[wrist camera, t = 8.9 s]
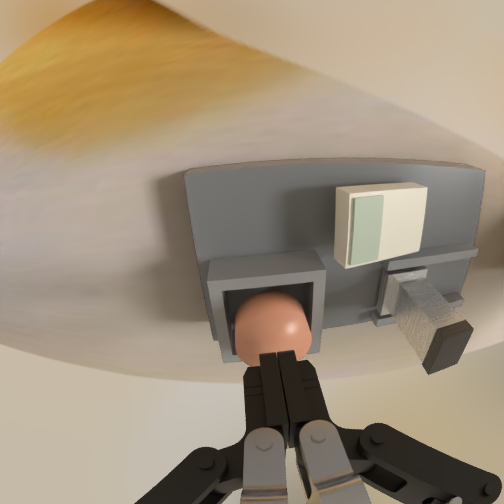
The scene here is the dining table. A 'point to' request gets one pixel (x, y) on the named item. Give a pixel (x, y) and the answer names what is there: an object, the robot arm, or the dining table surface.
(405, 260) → the switch panel
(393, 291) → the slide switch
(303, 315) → the push button
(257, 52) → the dining table surface
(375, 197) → the rocker switch
